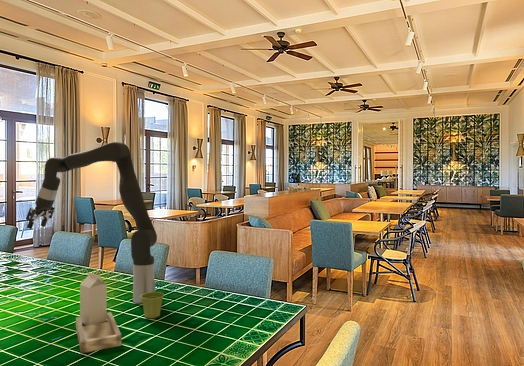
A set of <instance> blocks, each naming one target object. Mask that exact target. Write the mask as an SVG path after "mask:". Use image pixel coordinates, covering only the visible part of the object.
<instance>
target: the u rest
mask: <svg viewBox="0 0 524 366" xmlns="http://www.w3.org/2000/svg"><path fill="white" fill-rule="evenodd" d="M75 328H76V329H75V330H76V334H77V340H78V344H79V350H80V354H85V353H90V352H95V351H99V350H103V349H104V350H105V349H111V348H115V347H120V346H122V336H123V335H122V333H121V331H120V329H119V327H118V325H117V322H116V320H115V318H114V315H113V314H112V311H109V312H106V321H105V322H102V323H99V324H94V325H88V326H87V325H83V323H82V322H81V318H80V316H78V317H75Z"/></svg>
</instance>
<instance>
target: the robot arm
mask: <svg viewBox="0 0 524 366" xmlns="http://www.w3.org/2000/svg"><path fill="white" fill-rule="evenodd" d="M100 162H112V163H116V166H117V169H118V173H119V183H118V184H119V187H118V191H119V195H120V198H121V201H122V204H123V206H124V208H125V210H126V211H127V212H128V214H130V216H131V217H132V219H133V220H134V222H135V226H136V228H137V230H135V231H134V232H133V233H132V235H131V238H130V251H131V252H130V255H131V259H132V302H133V303H134V304H143V302H142V299H141V297H140V296H141V295H142V294H144V293H148V292H156V280H155V257H154V256H153V255H152V254H151V247H153V246H155V244H157V240H158V234H157V232H156V229H155V227H154V225H153V222H152V220H151V218H150V215H149V212H148V210H147V205H146V203H145V200H144V195H143V194H142V190H141V187H140V185H139V181H138V178H137V175H136V172H135V169H134V165H133V159H132V153H131V150H130V148H129V147H128V145H127V144H126V143H124V142H118V141H111V142H107V143H106V144H103V145H101V146H98V147H96V148H92V149H89V150H85V151H81V152H76V153H75V152H74V153H71V154H68V155H67V156H66V157H54V156H53V157H50V158H48V159H47V160H46V162H45V164H44V176H43V177H44V179H43V181H42V183H41V187H40V188H39V191H38V194H37V197H36V199H35V201H34V202H35V204H34V205H35V207H34V208H32V207H30V208H29V209H28V212H27V214H26V217H25V220H26V221H28V222H27V225H26V228H27V229H28V230H32V229H33V227H34V224H35V221H36V220H38V219H39V218H42V220H41V223H40V226H41V227H43V228H45V227H46V226H47V223H48V221H49V220H50V219H52V218H53V215H54V212H55V209H56V208H55V207H54V203H55V200H56V197H57V193H58V190H59V186H60V185H61V179H60V178H59V177H58V173H67V172H69V171H72V170H75V169H81V168H85V167H88V166H90V165H92V164H94V163H100Z"/></svg>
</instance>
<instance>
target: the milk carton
mask: <svg viewBox="0 0 524 366" xmlns="http://www.w3.org/2000/svg"><path fill="white" fill-rule="evenodd" d="M107 291H108V290H107V283H106V282H104V281H103V280H102V277H101V276H99V274H95V273H92V272H88V274H87V276H86V277H85V278H84V280H83V281H82V282H81V283H80V284H79V317H80V318H81V322H82V325H84V326H88V325H94V324H100V323H106V322H107V300H108V299H107V297H108V296H107V295H108V293H107Z"/></svg>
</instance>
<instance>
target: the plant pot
mask: <svg viewBox="0 0 524 366" xmlns="http://www.w3.org/2000/svg"><path fill="white" fill-rule="evenodd" d="M164 296H165V293H163V292H160V291H155V292H148V293H144V294H142V295H141V296H140V297H141V299H142V302H143V303H142V307H143V315H144V318H146V319H147V318H148V319H157V318H158V317H160V316H161V309H162V303H163V298H164Z"/></svg>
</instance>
